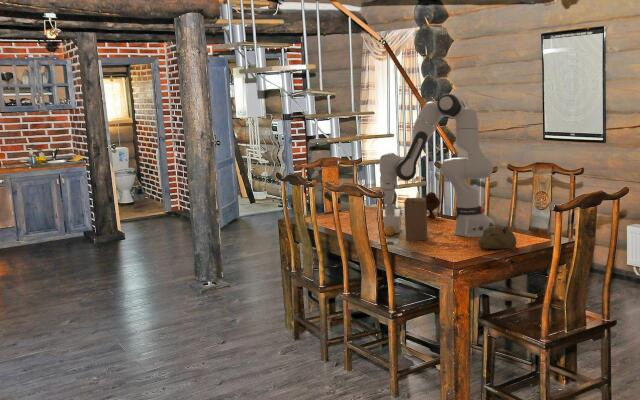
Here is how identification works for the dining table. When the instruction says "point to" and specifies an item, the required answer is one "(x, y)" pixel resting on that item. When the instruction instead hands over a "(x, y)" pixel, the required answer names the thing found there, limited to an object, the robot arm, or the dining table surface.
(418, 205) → the wooden block
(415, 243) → the dining table surface
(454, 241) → the dining table surface
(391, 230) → the ball
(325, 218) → the dining table surface
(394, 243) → the mark
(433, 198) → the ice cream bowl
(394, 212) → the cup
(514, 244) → the bear head
